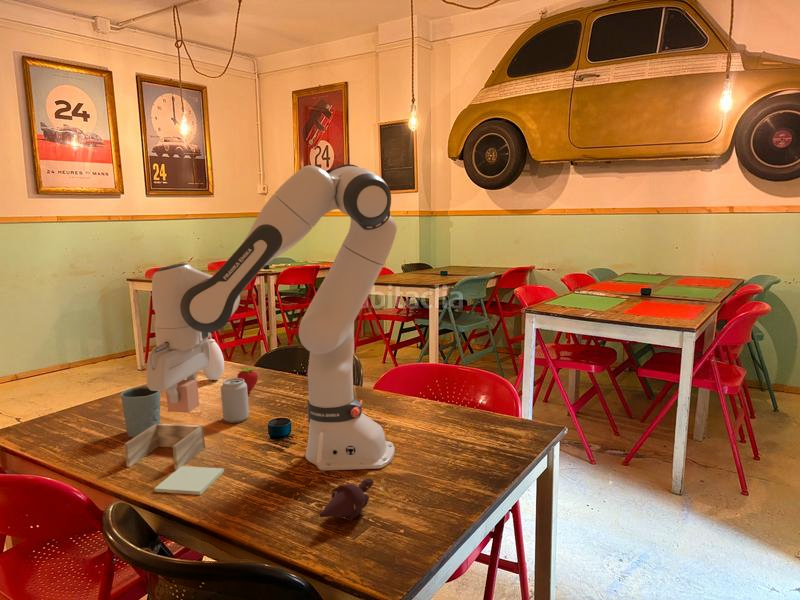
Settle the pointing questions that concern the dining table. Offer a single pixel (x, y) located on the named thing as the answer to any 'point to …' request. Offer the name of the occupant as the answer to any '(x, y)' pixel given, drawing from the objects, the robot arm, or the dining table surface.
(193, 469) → the green mat
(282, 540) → the dining table surface
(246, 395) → the can
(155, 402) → the grey cup
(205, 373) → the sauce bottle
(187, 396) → the block
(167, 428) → the open box
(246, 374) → the strawberry
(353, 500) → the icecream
